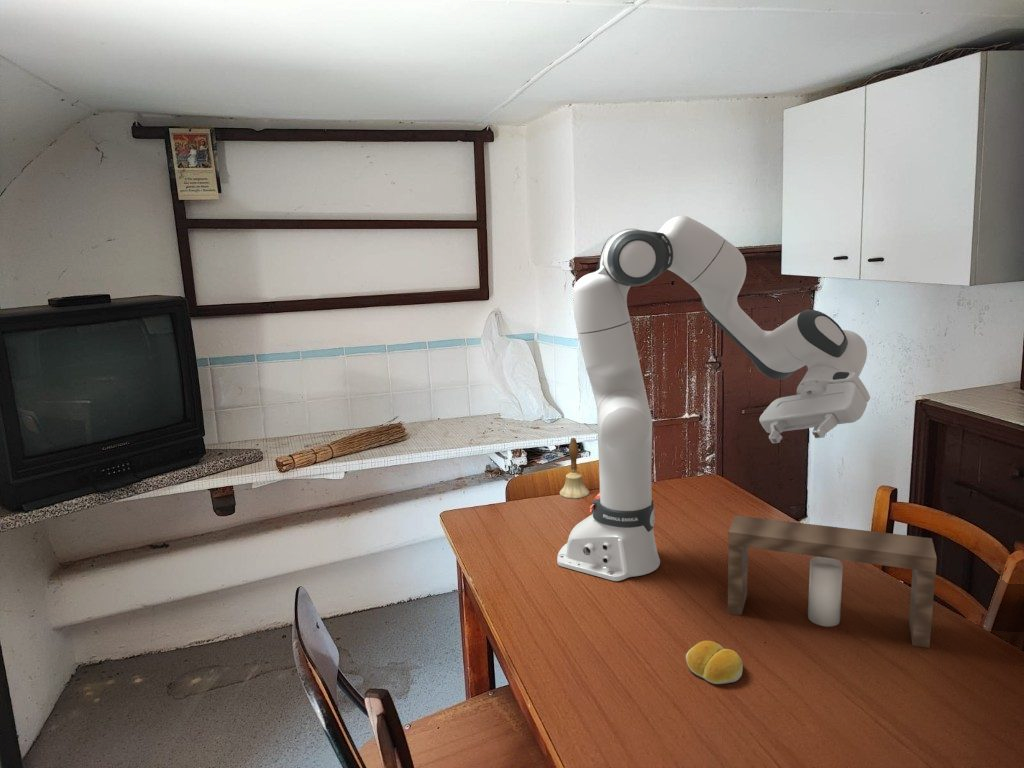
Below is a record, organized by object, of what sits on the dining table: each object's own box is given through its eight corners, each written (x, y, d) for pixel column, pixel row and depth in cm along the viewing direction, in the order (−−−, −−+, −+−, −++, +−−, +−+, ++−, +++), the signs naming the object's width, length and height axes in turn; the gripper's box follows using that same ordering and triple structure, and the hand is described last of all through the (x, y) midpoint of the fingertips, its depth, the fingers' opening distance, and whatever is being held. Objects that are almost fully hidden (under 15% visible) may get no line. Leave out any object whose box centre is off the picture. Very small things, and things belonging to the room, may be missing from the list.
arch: (727, 613, 133) (728, 532, 130) (733, 592, 140) (734, 515, 137) (929, 648, 119) (936, 558, 116) (924, 623, 126) (931, 538, 123)
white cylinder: (807, 623, 128) (809, 567, 126) (808, 608, 133) (810, 554, 131) (839, 628, 126) (842, 572, 124) (840, 613, 131) (842, 559, 129)
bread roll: (725, 693, 111) (726, 671, 110) (678, 669, 118) (678, 647, 117) (754, 670, 116) (754, 648, 115) (707, 648, 123) (707, 627, 122)
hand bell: (569, 486, 202) (567, 432, 199) (594, 490, 198) (593, 436, 194) (554, 495, 196) (551, 440, 192) (580, 501, 191) (578, 444, 188)
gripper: (769, 388, 147) (741, 431, 140) (863, 370, 130) (835, 418, 123) (784, 411, 148) (757, 455, 141) (879, 396, 131) (853, 445, 124)
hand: (794, 438), depth 132 cm, fingers open, 8 cm apart
